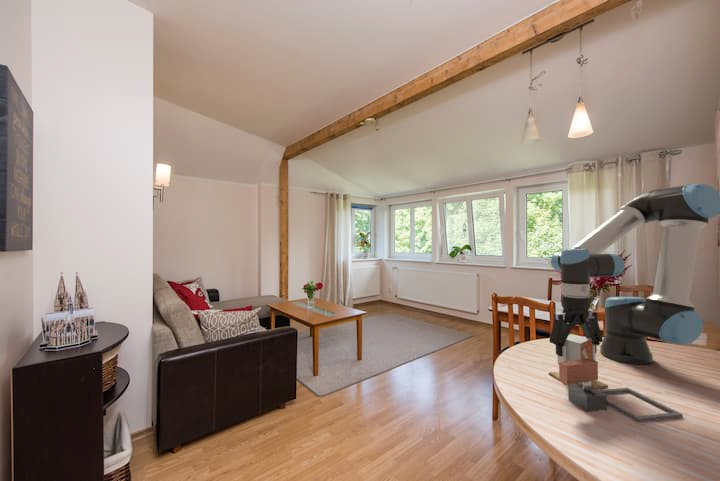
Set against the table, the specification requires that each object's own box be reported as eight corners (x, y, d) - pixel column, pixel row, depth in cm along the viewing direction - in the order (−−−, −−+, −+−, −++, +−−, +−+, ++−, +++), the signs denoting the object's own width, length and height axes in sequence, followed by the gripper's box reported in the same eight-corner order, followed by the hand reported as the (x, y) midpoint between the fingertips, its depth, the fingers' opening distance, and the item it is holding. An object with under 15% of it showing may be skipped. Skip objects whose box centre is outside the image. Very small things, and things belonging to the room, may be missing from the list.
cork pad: (577, 371, 104) (577, 370, 104) (607, 387, 93) (607, 385, 93) (548, 374, 102) (548, 372, 102) (575, 390, 91) (575, 388, 91)
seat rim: (627, 390, 91) (627, 387, 91) (682, 417, 77) (682, 414, 77) (588, 393, 89) (588, 391, 89) (638, 422, 75) (638, 418, 75)
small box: (581, 385, 93) (580, 343, 93) (559, 377, 98) (558, 338, 98) (593, 378, 97) (592, 338, 97) (571, 371, 102) (570, 333, 102)
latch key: (559, 391, 83) (559, 362, 83) (589, 386, 85) (589, 358, 85) (567, 395, 80) (567, 366, 80) (598, 390, 83) (597, 361, 83)
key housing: (587, 398, 87) (587, 383, 87) (606, 409, 81) (606, 394, 81) (568, 399, 86) (568, 385, 86) (586, 411, 80) (586, 396, 80)
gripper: (552, 299, 92) (554, 372, 92) (616, 296, 95) (618, 366, 95) (535, 295, 100) (536, 362, 100) (595, 292, 102) (596, 357, 102)
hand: (576, 364), depth 97 cm, fingers closed on small box, 10 cm apart
